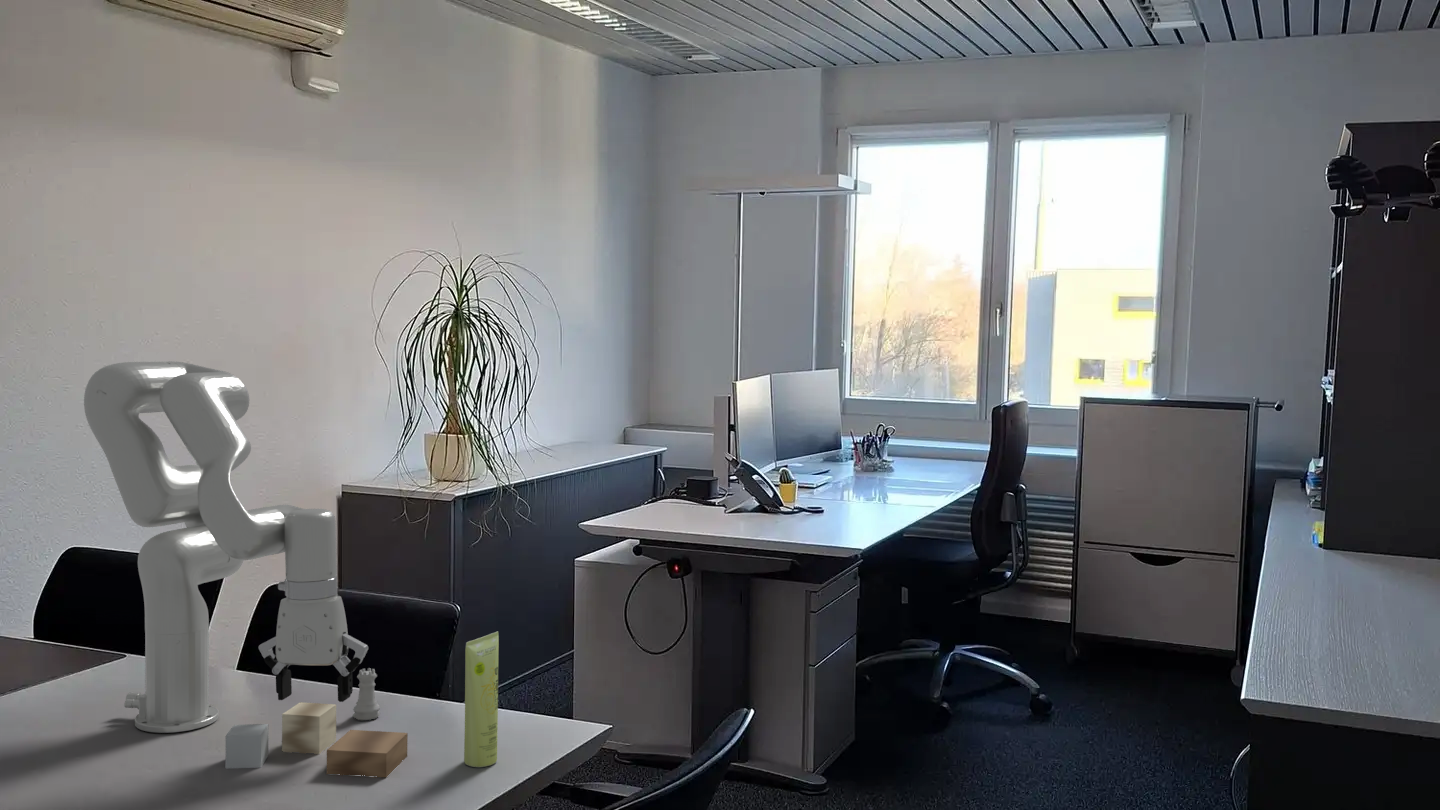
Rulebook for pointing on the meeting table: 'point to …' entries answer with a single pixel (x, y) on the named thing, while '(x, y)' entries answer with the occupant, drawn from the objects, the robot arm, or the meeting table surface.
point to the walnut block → (367, 753)
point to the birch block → (308, 728)
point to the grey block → (246, 746)
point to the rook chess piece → (366, 696)
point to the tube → (481, 701)
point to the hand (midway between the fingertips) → (314, 698)
